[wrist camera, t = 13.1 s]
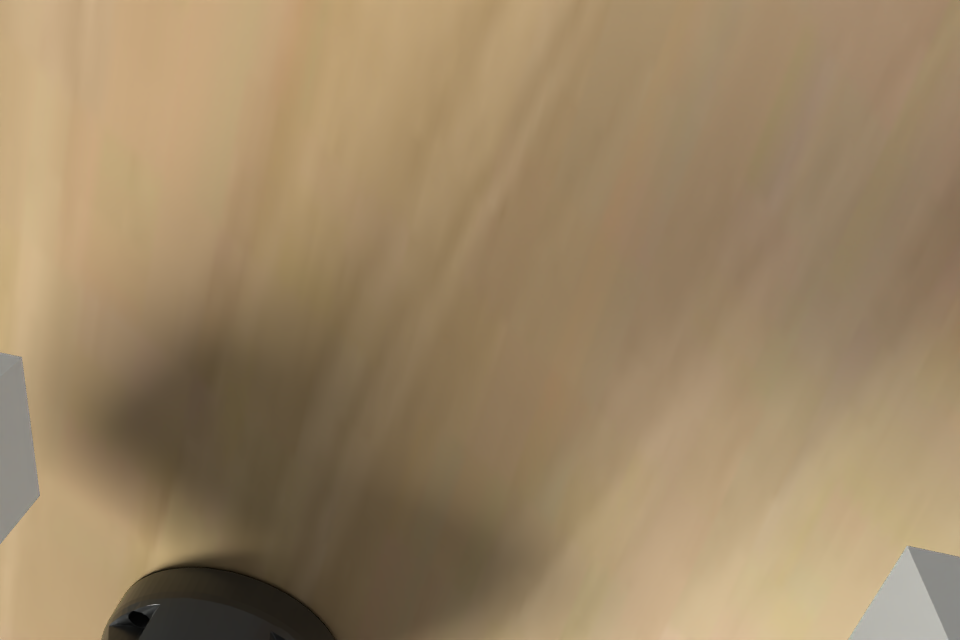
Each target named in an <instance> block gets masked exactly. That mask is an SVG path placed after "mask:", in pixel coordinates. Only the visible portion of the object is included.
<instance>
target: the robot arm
mask: <svg viewBox="0 0 960 640" xmlns="http://www.w3.org/2000/svg"><path fill="white" fill-rule="evenodd" d="M39 496H40V493H39V485H38V477H37V470H36V462H35V454H34V447H33V439H32V431H31V424H30V416H29V408H28V401H27V393H26V385H25V378H24V370H23V362H22V357H19V356H14V355H10V354H5V353H0V544H1V542H2V541H3V540H4V539H5V538H6V536H7V535H8V534H9V533H10V531H11V530H12V529H13V528H14V527H15V525H16V524H17V523H18V522H19V520H20V519H21V518H22V517H23V516H24V514H25V513H26V512H27V511H28V509H29V508H30V507H31V506H32V505H33V503H34V502H35V501H36V500H37V498H38V497H39ZM101 640H335V639H334V638H333V636H332V635H331V633H330V632H329V630H328V629H327V628H326V627H325V625H324V624H323V623H322V622H321V621H320V620H319V619H318V618H317V617H316V616H315V615H314V614H313V613H312V612H311V611H310V610H308V609H307V608H306V607H305V606H303V605H302V604H301V603H299V602H298V601H296V600H295V599H293V598H292V597H290V596H289V595H287V594H285V593H284V592H282V591H280V590H278V589H276V588H274V587H272V586H270V585H268V584H265V583H263V582H261V581H258V580H255V579H253V578H250V577H247V576H243V575H240V574H236V573H232V572H228V571H223V570H217V569H209V568H177V569H170V570H165V571H161V572H157V573H154V574H152V575H149V576H147V577H145V578H143V579H141V580H139V581H138V582H137V583H135V584H134V585H133V586H132V587H131V588H129V590H128V591H127V592H126V593H125V595H124V596H123V598H122V599H121V601H120V603H119V604H118V606H117V607H116V609H115V611H114V612H113V614H112V616H111V617H110V619H109V621H108V623H107V625H106V627H105V629H104V632H103V635H102V639H101ZM848 640H960V558H959V557H958V556H953V555H948V554H944V553H939V552H934V551H929V550H925V549H920V548H915V547H911V546H907V547H906V548H905V550H904V552H903V553H902V555H901V556H900V558H899V559H898V561H897V563H896V564H895V566H894V567H893V569H892V571H891V572H890V574H889V575H888V577H887V579H886V580H885V582H884V583H883V585H882V586H881V588H880V590H879V591H878V593H877V594H876V596H875V598H874V599H873V601H872V602H871V604H870V606H869V607H868V609H867V610H866V612H865V613H864V615H863V617H862V618H861V620H860V621H859V623H858V625H857V626H856V628H855V629H854V631H853V633H852V634H851V636H850V637H849V639H848Z"/></svg>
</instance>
